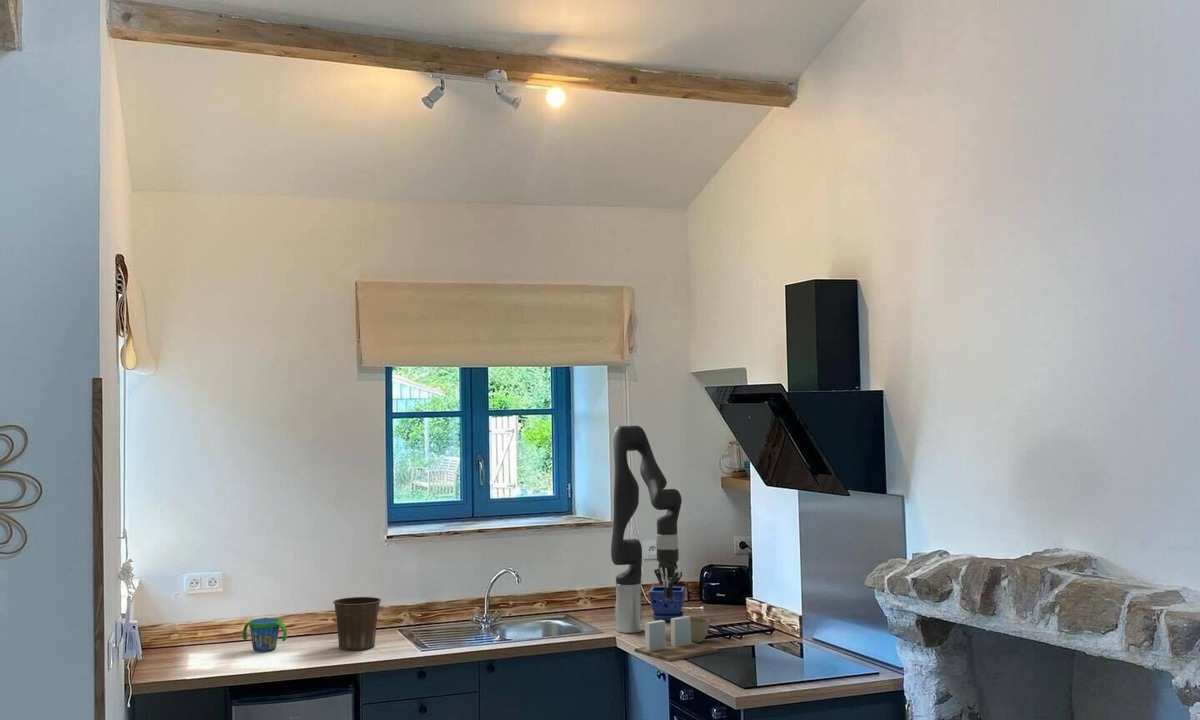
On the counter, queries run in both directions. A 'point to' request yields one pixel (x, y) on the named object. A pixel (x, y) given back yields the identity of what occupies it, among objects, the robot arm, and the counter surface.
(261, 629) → the snack cup
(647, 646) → the tile near
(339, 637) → the plant pot
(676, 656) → the board
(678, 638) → the tile far
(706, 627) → the flower pot
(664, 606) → the flower pot
